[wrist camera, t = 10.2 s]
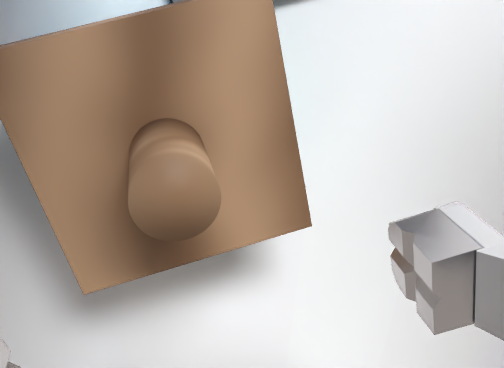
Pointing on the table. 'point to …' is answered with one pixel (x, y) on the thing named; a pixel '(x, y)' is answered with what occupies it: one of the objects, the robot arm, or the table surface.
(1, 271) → the table surface
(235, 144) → the lid
